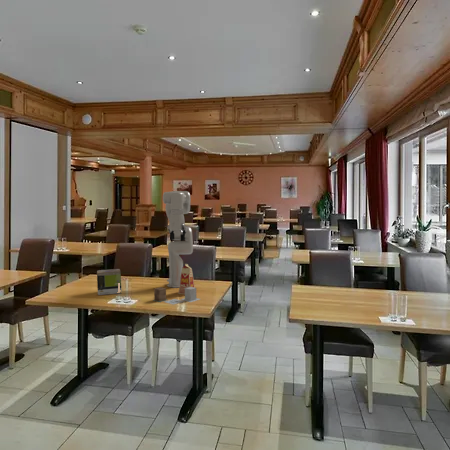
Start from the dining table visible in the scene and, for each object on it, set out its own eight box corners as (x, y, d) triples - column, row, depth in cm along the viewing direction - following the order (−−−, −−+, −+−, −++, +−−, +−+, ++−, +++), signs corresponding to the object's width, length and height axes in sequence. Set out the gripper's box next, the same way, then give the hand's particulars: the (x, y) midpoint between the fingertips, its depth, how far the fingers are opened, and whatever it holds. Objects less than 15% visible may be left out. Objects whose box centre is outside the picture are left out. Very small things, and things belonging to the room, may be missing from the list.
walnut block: (154, 300, 243) (154, 288, 243) (160, 298, 247) (160, 287, 246) (159, 301, 240) (159, 290, 239) (166, 299, 244) (165, 288, 243)
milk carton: (191, 295, 256) (191, 264, 254) (177, 294, 258) (177, 263, 256) (195, 291, 265) (195, 262, 263) (182, 291, 267) (181, 261, 265)
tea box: (120, 290, 271) (120, 268, 269) (121, 293, 261) (121, 271, 260) (97, 291, 266) (96, 269, 265) (97, 295, 256) (96, 272, 255)
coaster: (152, 300, 243) (152, 300, 243) (161, 298, 248) (161, 297, 248) (159, 302, 238) (159, 302, 238) (168, 300, 244) (168, 299, 244)
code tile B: (180, 300, 244) (180, 299, 244) (190, 297, 251) (190, 296, 251) (190, 302, 238) (190, 302, 238) (201, 299, 245) (201, 299, 245)
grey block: (184, 299, 244) (184, 288, 244) (190, 297, 248) (190, 286, 248) (190, 300, 241) (190, 289, 241) (196, 299, 245) (196, 288, 244)
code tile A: (163, 302, 239) (163, 301, 239) (174, 299, 246) (174, 298, 246) (173, 305, 233) (173, 304, 233) (184, 301, 240) (184, 301, 240)
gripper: (163, 212, 248) (163, 239, 249) (182, 213, 237) (182, 241, 238) (172, 211, 254) (172, 238, 255) (191, 212, 242) (191, 240, 243)
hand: (177, 240), depth 246 cm, fingers open, 9 cm apart
